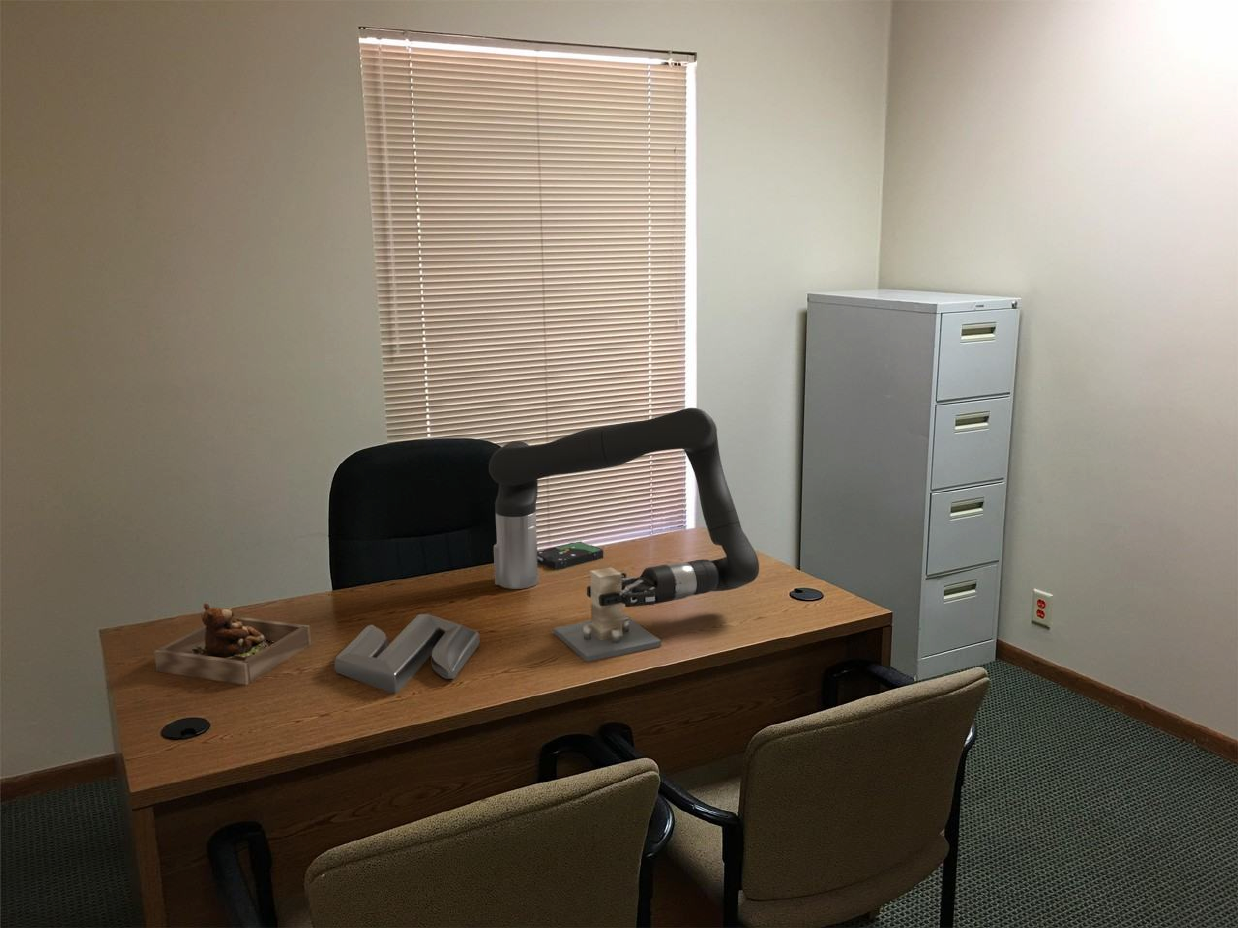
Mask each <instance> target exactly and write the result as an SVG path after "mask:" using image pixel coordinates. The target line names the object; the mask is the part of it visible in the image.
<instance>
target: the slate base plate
mask: <svg viewBox="0 0 1238 928" xmlns="http://www.w3.org/2000/svg"><path fill="white" fill-rule="evenodd" d="M553 634H554V635H555V636H556V637H558V639H560V641H562V642H563V643H564V644H565V645H566V646H567V647H569V648H570V649H571V650H572V651H573V652H575V653H576V654H577V655H578V656H579V657H580V658H582V660H584V661H585V663H591V662H595V661H599V660H604V659H610V658H614V657H618V656H623V655H628V654H632V653H638V652H641V651H647V650H651V649H655V648H660V647H662V640H661V639H659V638H658V637H656V635H654V634H652V633H651V632H650V631H648V630H647V629H645V628H644V627H643V626H641V625H639V624H638V622H636V621H634V620H633V619H631V618H630V617H629V616H628V615H626V614H623V613H622V636H620V631H619V629H618V628H613V629H612V638H610V639H605V640H600V639H599V638H598V637H597V636H595V635H594V634H593V633H592V631H591V620H589V621H588V620H587V621H583V622H579V623H572V624H568V625H567V624H566V625H561V626H558V627H554V628H553ZM646 649H647V650H646Z"/></svg>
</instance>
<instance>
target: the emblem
mask: <svg viewBox="0 0 1238 928" xmlns="http://www.w3.org/2000/svg"><path fill="white" fill-rule="evenodd" d="M479 645H480V634H479V632H478V631H477V630H475V629H471V628H468V627H466V626H465V625H462V624H459V623H456V622H453V621H451V620H447V619H444V618H441V617H438V616H436V615H432V614H429V613H425V614H422V613H419V614H417V616H416V617H414V619H413V620H411V621H410V623H408V625H407V626H406V627H404V629H403V630H402V631H401V632H400V633H399V634H398V635H397V636H396V637H395V638H394V639H393V640H392V641H391V642H390V643H389V644H388V639H387V636H386V634H385V632H384V631H383V630H382V629H380V628H378V627H377V626H375V625H374V624H370V625H367V626H366V627H364V628H363V629H362V631H361V632H360V633H359V634H357V636H356V637H355V638H354V639H353V640H352V641H351V642H350V643H349V644H348V645H347V646H346V647H345V648H344V649H343V650H342V651H341V652H340V653H339V654H337V656H336V657H335V658H334V669H335V672H336V673H337V674H339V675H342V676H344V677H346V678H350V679H351V680H355V681H357V682H359V683H362V684H364V685H366V686H368V687H369V686H370V687H373V688H374V689H378V690H381V691H384V692H387V693H390V694H392V695H393V694H394V695H397V694H398V693H400V691H401V690H402V689H403V688H404V687H405V686H406V684H407V683H408V682H409V681H410V680H411V679H412V678H413V676H414V675H415V674H416V673H417V672H418V671H419V670H420V669H421V667H422V666H423V665H424V664H425V663H426V661H427V660H429V658H430V662H431V667H432V669H433V671H435V672H436V673H437V674H438V675H439V676H440V677H442V678H444V679H446V680H448V679H455V678H456V677H457V675H458V673H459V672H460V671H461V669H462V668H463V667H464V666H465V664H466V663H467V662H468V660H469V659H470V657H472V656H473V654H474V652H475V651H476V649H477V648H478V647H479Z"/></svg>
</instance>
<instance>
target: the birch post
mask: <svg viewBox="0 0 1238 928" xmlns="http://www.w3.org/2000/svg"><path fill="white" fill-rule="evenodd" d="M621 573H622V572H619V571H617V570H616V569H614V568H613V567H605V568H600V569H593V570H590V571H589V575H590V576H589V577H590V586H591V598H590V621H591V631H592V633H593V634H594V635H595V636H597V637H598V638H599V639H600V640H605V639H610V638H612V629H613V628H618V629H619V631H620V636H622V615H623V607H622V606H623V605H619V604H618V603H617V604H613V605H608V606H603V607H602V606H600V605H599V596H600V595H602V594H608V593H613V592H616V593H617V594H618V592H619V591H621V590H622V587H621Z"/></svg>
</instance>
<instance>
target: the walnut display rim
mask: <svg viewBox="0 0 1238 928" xmlns="http://www.w3.org/2000/svg"><path fill="white" fill-rule="evenodd" d="M234 617H235V618H236V620H237V621H240V622H242V626H249V627H252V628H254V629H255V630H257V631H259V632H260V633H261V634H262V635H263V636H264V637H265V639H266V640H268V641H267V642H269V641H274V642H272V643H271V644H270V645H268V647H266V648H265V649H263V650H261V651H260V652H258V653H256V654H255V655H253V656H251V657H250V658H248V659H246V660H244V661H238V660H231V659H225V658H218V657H211V656H204V655H197V654H193V653H194V652H193V650H192V649H193V648H197V647H196V646H198V647H202V646H205V632H206V625H205V624H203V625H202V626H200V627H198V628H196V629H195V630H193V631H190V632H188V633H187V634H185V635H184V636H181V637H179V638H177V639H176V640H174V641H172V642H169V643H168V644H165V645H164V646H162V647H159V648H158V649H156V650H154V651H153V653H154V655H153V656H154V661H155V663H154V664H155V671H156V672H158V671H159V673H165V674H166V673H167V674H171V675H172V674H173V675H179V676H185V677H190V678H191V677H193V678H197V679H198V678H199V679H204V678H205V680H211V681H217V682H218V681H219V682H224V683H229V684H230V683H231V684H237V685H243V686H244V685H245V686H248V685H249V684H250V683H252V682H254V681H255V680H257V679H258V678H260V677H262V676H263V675H265V674H267V673H268V672H270V671H272V670H273V669H275V668H276V667H278V666H279V665H281V664H282V663H284V662H286V661H287V660H289V659H290V658H292V657H293V656H295V655H297V654H298V653H300V652H301V651H303V650H305V649H306V648H308V647H309V646H312V640H311V629H310V626H311V625H307V624H299V623H293V622H292V623H291V622H286V621H285V622H284V621H275V620H267V619H260V618H254V617H245V616H244V617H243V616H236V615H234Z"/></svg>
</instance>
